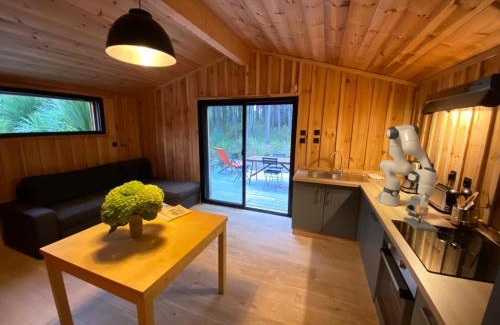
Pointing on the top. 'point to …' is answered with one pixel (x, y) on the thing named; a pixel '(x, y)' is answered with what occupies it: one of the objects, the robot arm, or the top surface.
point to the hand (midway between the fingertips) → (421, 210)
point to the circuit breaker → (413, 206)
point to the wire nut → (418, 210)
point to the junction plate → (420, 224)
